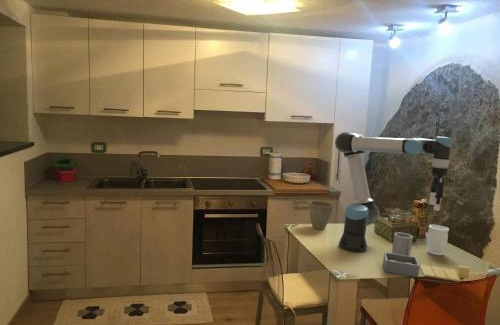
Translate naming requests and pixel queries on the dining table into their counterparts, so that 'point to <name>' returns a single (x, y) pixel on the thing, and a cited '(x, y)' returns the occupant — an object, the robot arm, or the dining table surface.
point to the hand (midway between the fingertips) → (433, 207)
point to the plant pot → (320, 214)
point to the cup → (402, 244)
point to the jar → (437, 239)
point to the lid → (445, 272)
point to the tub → (401, 265)
